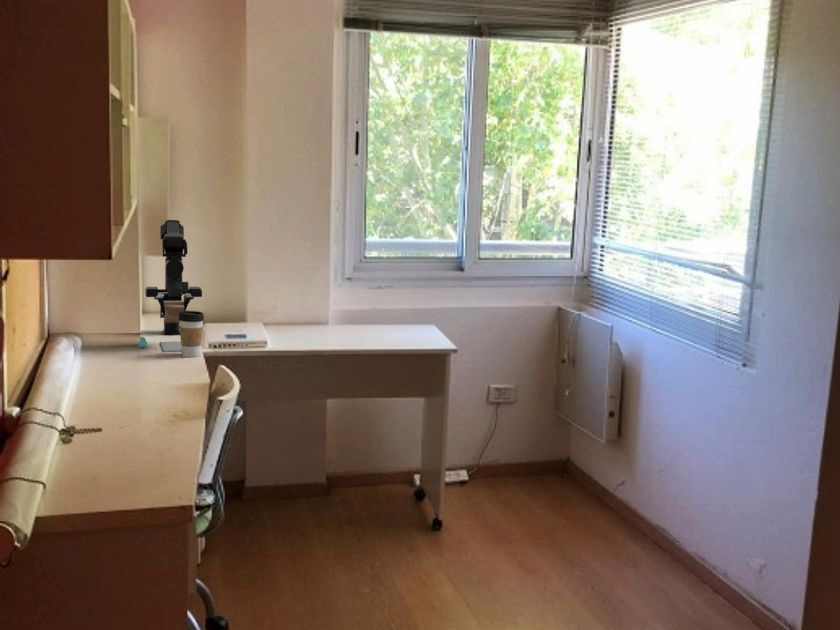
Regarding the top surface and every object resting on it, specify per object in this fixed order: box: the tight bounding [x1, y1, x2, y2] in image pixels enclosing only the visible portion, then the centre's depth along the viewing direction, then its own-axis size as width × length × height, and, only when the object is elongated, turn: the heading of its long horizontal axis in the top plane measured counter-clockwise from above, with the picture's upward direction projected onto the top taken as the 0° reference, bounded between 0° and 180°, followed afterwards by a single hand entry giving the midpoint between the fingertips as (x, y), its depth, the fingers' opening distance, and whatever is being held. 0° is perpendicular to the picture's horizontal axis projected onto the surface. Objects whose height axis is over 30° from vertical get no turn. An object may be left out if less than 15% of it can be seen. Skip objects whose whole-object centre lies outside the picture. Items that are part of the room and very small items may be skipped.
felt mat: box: [159, 340, 182, 353], centre depth 317 cm, size 14×9×1 cm, turn 20°
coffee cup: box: [178, 310, 205, 358], centre depth 305 cm, size 8×8×15 cm
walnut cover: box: [163, 300, 184, 323], centre depth 315 cm, size 12×6×6 cm, turn 20°
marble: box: [137, 339, 148, 349], centre depth 313 cm, size 3×3×3 cm
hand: (173, 316), depth 315 cm, fingers closed on walnut cover, 6 cm apart
